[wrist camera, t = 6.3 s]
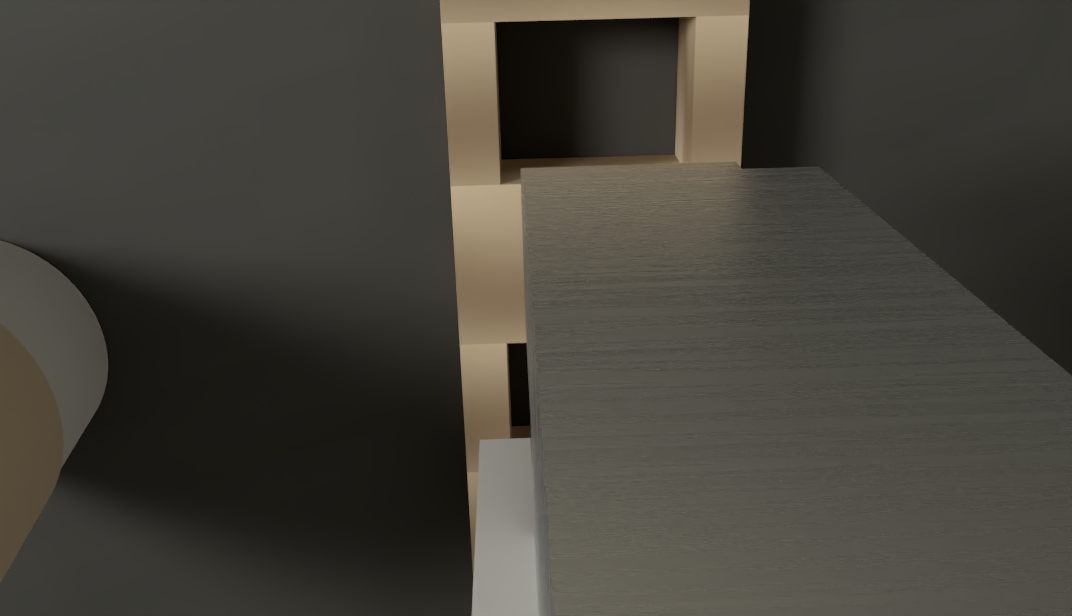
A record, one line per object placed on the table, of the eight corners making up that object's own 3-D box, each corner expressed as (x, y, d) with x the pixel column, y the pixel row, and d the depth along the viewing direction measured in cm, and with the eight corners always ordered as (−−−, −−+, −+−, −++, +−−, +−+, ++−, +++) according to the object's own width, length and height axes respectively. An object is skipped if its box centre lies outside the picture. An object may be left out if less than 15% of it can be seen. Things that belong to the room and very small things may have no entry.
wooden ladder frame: (437, -170, 24) (429, -178, 21) (735, -177, 24) (759, -185, 21) (476, 543, 31) (474, 595, 29) (702, 536, 31) (717, 587, 29)
